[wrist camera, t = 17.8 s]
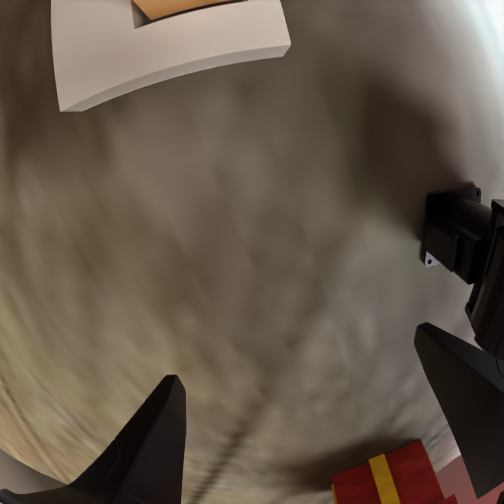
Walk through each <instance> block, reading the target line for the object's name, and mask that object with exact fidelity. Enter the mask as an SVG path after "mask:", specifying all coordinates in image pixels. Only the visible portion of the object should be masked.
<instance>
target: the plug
mask: <svg viewBox="0 0 504 504" xmlns="http://www.w3.org/2000/svg"><path fill="white" fill-rule="evenodd" d="M133 1H134V2H135V3H136V4H137V5H138V7H139V8H140V9H141V10H142V11H143V12H144V13H145V14H146V15H147V16H148V17H149V18H150V20H153V19H156V18H160V17H163V16H166V15H169V14H173V13H176V12H180V11H184V10H187V9H191V8H195V7H200V6H204V5H209V4H214V3H219V2H224V1H230V0H133Z"/></svg>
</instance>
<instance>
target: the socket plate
mask: <svg viewBox="0 0 504 504" xmlns="http://www.w3.org/2000/svg"><path fill="white" fill-rule="evenodd" d="M51 33H52V50H53V62H54V72H55V80H56V88H57V95H58V101H59V107H60V112H66V111H85V110H87V109H89V108H91V107H94V106H96V105H98V104H101V103H103V102H105V101H108V100H110V99H113V98H115V97H118V96H121V95H123V94H126V93H129V92H131V91H134V90H137V89H140V88H143V87H146V86H149V85H152V84H155V83H158V82H161V81H165V80H168V79H171V78H175V77H178V76H182V75H186V74H190V73H194V72H198V71H202V70H206V69H211V68H215V67H220V66H225V65H230V64H235V63H241V62H247V61H253V60H260V59H268V58H276V57H283V56H284V55H285V53H286V52H287V50H288V49H289V47H290V46H291V42H290V37H289V33H288V29H287V25H286V21H285V17H284V14H283V10H282V6H281V2H280V0H230V1H224V2H219V3H214V4H209V5H204V6H200V7H195V8H191V9H187V10H184V11H180V12H176V13H173V14H169V15H166V16H163V17H160V18H156V19H153V20H150V18H149V17H148V16H147V15H146V14H145V13H144V12H143V11H142V10H141V9H140V8H139V7H138V5H137V4H136V3H135V2H134V1H133V0H51Z"/></svg>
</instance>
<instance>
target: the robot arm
mask: <svg viewBox="0 0 504 504" xmlns="http://www.w3.org/2000/svg"><path fill="white" fill-rule="evenodd" d="M476 192H477V193H476ZM432 198H433V201H431V200H432ZM480 202H481V190H480V188H478V187H469V188H461V189H453V190H446V191H438V192H431V193H429V194H428V195H427V198H426V222H425V238H424V255H423V263H424V265H425V266H427V267H431V266H434V265H438V264H442V265H443V266H445V267H446V268H447V269H448V270H449V271H450V272H454V273H456V274H457V275H458V276H459V277H460V278H461V279H462V280H463V281H465V282H466V283H467V284H468V285H470V284H472V283H473V284H474V286H473V289H472V292H471V295H470V298H469V301H468V302H467V304H466V306H465V312H466V314H467V316H468V318H469V321H470V323H471V326H472V328H473V331H474V333H475V337H474V339H475V341H476V343H477V344H478V345H479V347H480V348H481V349H482V350H481V349H479V348H477V347H475V346H473V345H471V344H469V343H467V342H465V341H464V340H462V339H460V338H458V337H456V336H454V335H452V334H450V333H448V332H446V331H444V330H442V329H440V328H438V327H436V326H434V325H432V324H430V323H428V322H425V323H422V324H419V325H418V326H417V329H416V334H415V338H414V345H415V348H416V351H417V353H418V356H419V358H420V361H421V364H422V366H423V369H424V372H425V374H426V377H427V379H428V381H429V383H430V385H431V387H432V389H433V391H434V393H435V395H436V398H437V400H438V402H439V404H440V406H441V408H442V410H443V413H444V415H445V417H446V419H447V421H448V424H449V426H450V428H451V431H452V433H453V435H454V438H455V440H456V443H457V445H458V447H459V450H460V452H461V455H462V457H463V461H464V463H465V466H466V469H467V471H468V474H469V477H470V480H471V482H472V485H473V489H474V492H475V494H476V497H477V499H479V498H481V497H482V496H484V495H485V494H487V493H488V492H490V491H491V490H493V489H494V488H496V487H497V486H499V485H500V484H501V483H502V482H504V200H498V199H492V203H491V208H492V209H491V208H489V207H487V206H485V205H483V204H481V203H480ZM429 259H430V260H429ZM428 260H429V261H428ZM185 439H186V392H185V388H184V386H183V384H182V383H181V381H180V379H179V377H178V376H177V375H175V374H174V375H166V376H165V377H164V378H163V379H162V380H161V382H160V383H159V384H158V385H157V387H156V388H155V389H154V390H153V392H152V393H151V394H150V395H149V397H148V398H147V399H146V400H145V402H144V403H143V404H142V405H141V407H140V408H139V409H138V410H137V412H136V413H135V414H134V415H133V416H132V418H131V419H130V420H129V421H128V423H127V424H126V425H125V426H124V428H123V429H122V430H121V431H120V432H119V434H118V435H117V436H116V437H115V440H113V441H112V442H111V443H110V445H109V446H108V447H107V448H106V449H105V450H104V452H103V453H102V454H101V455H100V456H99V457H98V458H97V459H96V460H95V461H94V462H93V463H92V464H91V465H90V466H89V467H88V468H87V469H86V470H85V471H84V472H83V473H82V474H81V475H80V476H79V477H78V478H77V479H75V480H74V481H73V482H72V483H70V484H68V485H67V486H64V487H61V488H56V489H52V490H46V491H41V492H36V493H29V494H15V493H13V492H11V491H9V490H8V489H1V490H0V502H1V503H3V504H181V492H182V477H183V463H184V451H185ZM497 504H504V490H503V491H502V492H501V493H500V495H499V498H498V501H497Z"/></svg>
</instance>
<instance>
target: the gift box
mask: <svg viewBox="0 0 504 504" xmlns="http://www.w3.org/2000/svg"><path fill="white" fill-rule="evenodd" d="M331 477H332V481H333V484H331V488H332V493H333V497H334V502H335V504H458V503H457V500H456V497H455V495H454V494H453V495H452V496H450V497H448V498H446V499H445V497H444V494H443V491H442V489H441V486H440V484H439V481H438V479H437V476H436V473H435V471H434V469H433V466H432V464H431V461H430V459H429V456H428V454H427V452H426V449H425V447H424V446H423V444H422V441H421V439H419V440H417V441H415V442H413V443H411V444H409V445H407V446H405V447H403V448H401V449H398V450H396V451H394V452H392V453H389V454H387V455H384V454H381V455H379V456H376V457H374V458H371V459H369V462H367V463H364V464H362V465H359V466H356V467H353V468H350V469H347V470H344V471H341V472H338V473H335V474H331Z"/></svg>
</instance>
